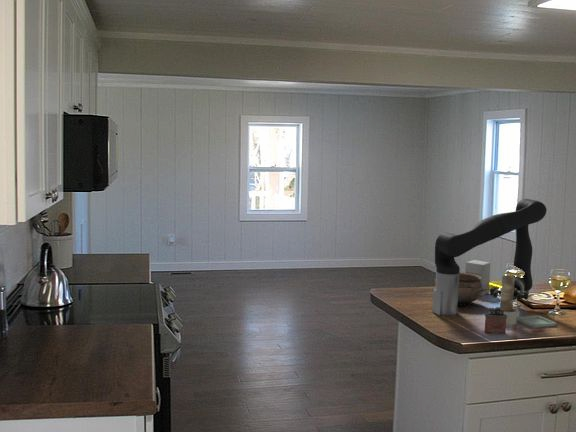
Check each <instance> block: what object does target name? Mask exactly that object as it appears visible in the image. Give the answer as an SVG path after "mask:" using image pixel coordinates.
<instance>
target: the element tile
mask: <svg viewBox="0 0 576 432" xmlns="http://www.w3.org/2000/svg"><path fill="white" fill-rule="evenodd" d="M492 287H496V288H497V289H499V288H502V280H492V281H490V280H489V293H490V289H491V288H492ZM523 292H524V291H523Z"/></svg>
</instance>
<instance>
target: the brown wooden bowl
mask: <svg viewBox="0 0 576 432" xmlns="http://www.w3.org/2000/svg"><path fill="white" fill-rule="evenodd" d="M480 279H481V277H480V276H478V275H475V274H470V273H465V272H460V273H459V289H458V306H466V305H469V304H471V303H473V302H475V301H477V300H478V299H479V298H480V297H482V296H481V294H482V292H483V291H486V290H488V289H487V288H485V289H483V288H482V284H481V281H480ZM433 282H434V283H436V278H435V279H434V280H433Z"/></svg>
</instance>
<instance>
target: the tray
mask: <svg viewBox="0 0 576 432" xmlns="http://www.w3.org/2000/svg"><path fill="white" fill-rule="evenodd" d="M517 323H520V324H523V325H525V326H528V327H529V328H532V329H537V328H541V329H542V328H553V327H554V328H555V327H558V323H557V322H555V321H553V320H550V319H548V318H546V317H543V316H541V315H526V316H525V315H524V316H517Z"/></svg>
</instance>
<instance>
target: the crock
mask: <svg viewBox="0 0 576 432" xmlns="http://www.w3.org/2000/svg"><path fill="white" fill-rule="evenodd" d="M498 308H499V309H500V306H498ZM518 312H519V310H518V309H515V308H513V309H512V312H504V314H506V315H507V318H506V326H513V325H517V324H518V321H517V317H518Z"/></svg>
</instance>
